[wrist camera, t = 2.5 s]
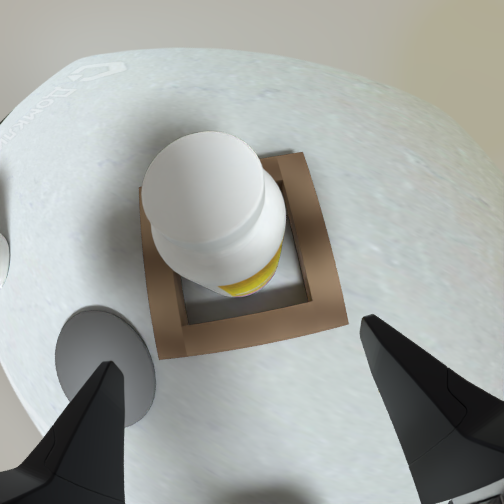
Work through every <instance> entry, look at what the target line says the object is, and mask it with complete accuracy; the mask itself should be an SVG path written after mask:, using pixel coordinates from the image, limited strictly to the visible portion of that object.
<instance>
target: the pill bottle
mask: <svg viewBox="0 0 504 504" xmlns="http://www.w3.org/2000/svg"><path fill="white" fill-rule="evenodd" d="M8 268H9V246H8V243H7V240H6V239H5V237H4V236H3V235H1V234H0V289H1V288H2V286H3V284H4V282H5V280H6V277H7V273H8Z"/></svg>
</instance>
